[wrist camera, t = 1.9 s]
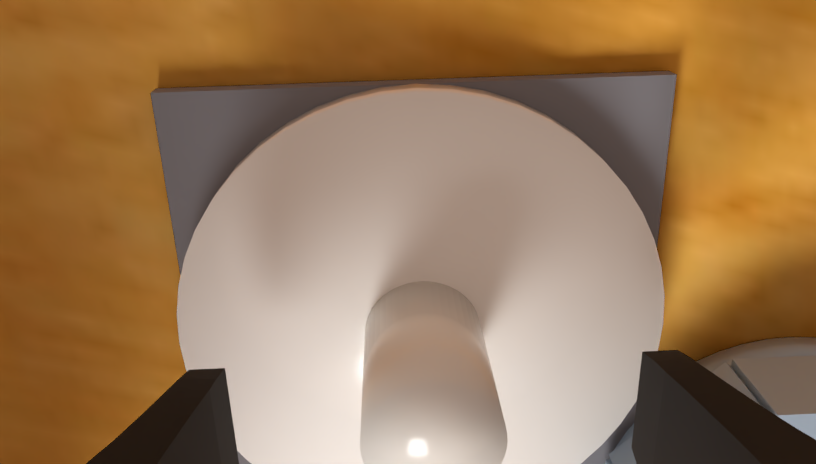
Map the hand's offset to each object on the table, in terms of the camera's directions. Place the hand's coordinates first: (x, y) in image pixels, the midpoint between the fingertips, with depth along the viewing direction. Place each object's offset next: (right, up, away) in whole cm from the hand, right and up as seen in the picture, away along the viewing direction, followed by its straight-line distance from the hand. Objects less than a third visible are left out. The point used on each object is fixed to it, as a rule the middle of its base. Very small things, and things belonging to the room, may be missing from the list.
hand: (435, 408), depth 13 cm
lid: (0, +1, +3) cm, 3 cm away
